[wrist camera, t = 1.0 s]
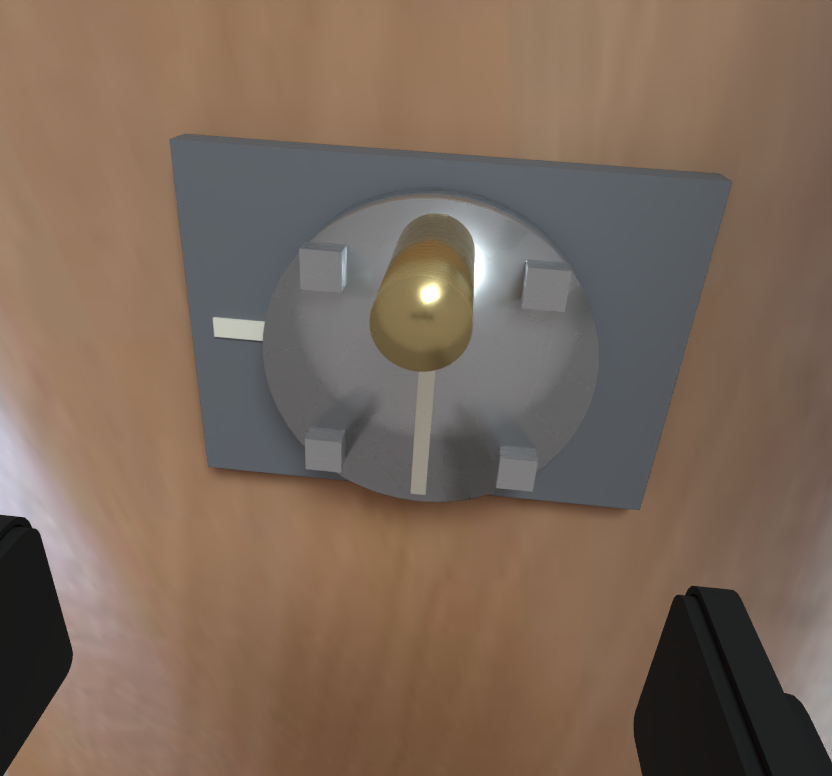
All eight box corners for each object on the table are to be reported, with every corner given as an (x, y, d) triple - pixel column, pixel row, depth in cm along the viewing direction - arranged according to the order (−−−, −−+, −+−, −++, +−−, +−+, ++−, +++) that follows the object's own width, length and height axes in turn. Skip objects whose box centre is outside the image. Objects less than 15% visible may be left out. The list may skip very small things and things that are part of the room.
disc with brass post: (622, 201, 26) (683, 280, 18) (563, 489, 33) (588, 638, 25) (267, 174, 26) (176, 238, 19) (282, 461, 33) (219, 597, 25)
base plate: (719, 174, 27) (733, 182, 25) (633, 491, 34) (640, 512, 33) (184, 133, 28) (167, 140, 26) (218, 450, 35) (206, 468, 34)
